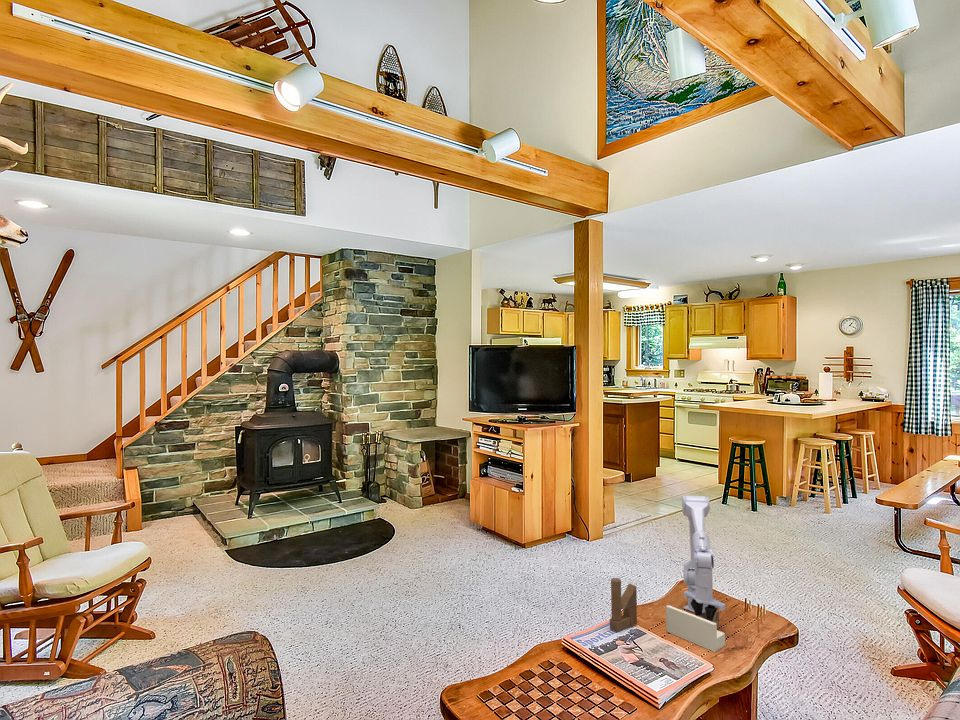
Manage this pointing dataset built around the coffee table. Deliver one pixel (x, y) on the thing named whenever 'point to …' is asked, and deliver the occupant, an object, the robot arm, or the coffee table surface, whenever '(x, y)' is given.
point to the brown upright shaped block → (623, 606)
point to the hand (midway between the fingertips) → (704, 623)
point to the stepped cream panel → (694, 629)
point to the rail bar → (715, 619)
